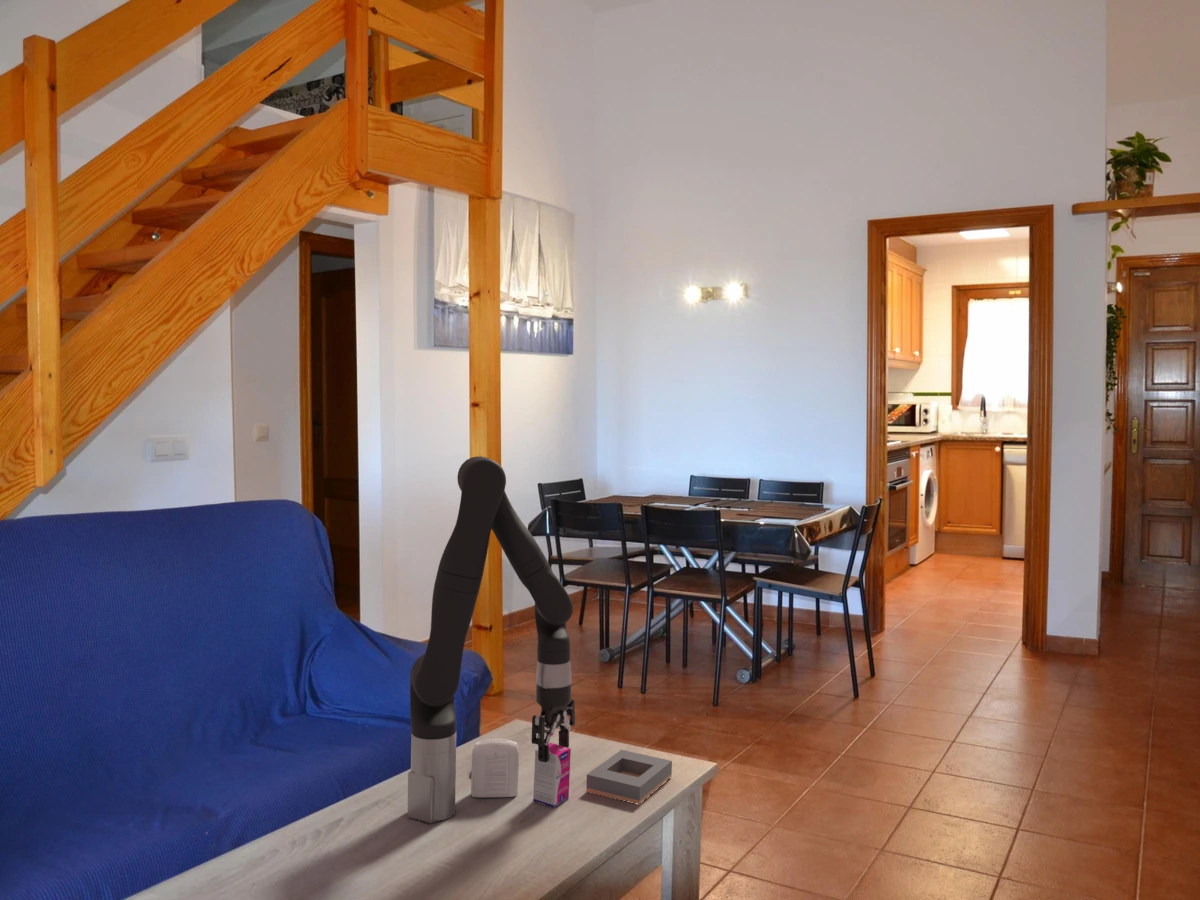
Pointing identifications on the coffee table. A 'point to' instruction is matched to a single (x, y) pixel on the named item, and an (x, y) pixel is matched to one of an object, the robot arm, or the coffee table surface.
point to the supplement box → (552, 776)
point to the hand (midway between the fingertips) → (553, 754)
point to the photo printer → (495, 768)
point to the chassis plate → (629, 776)
